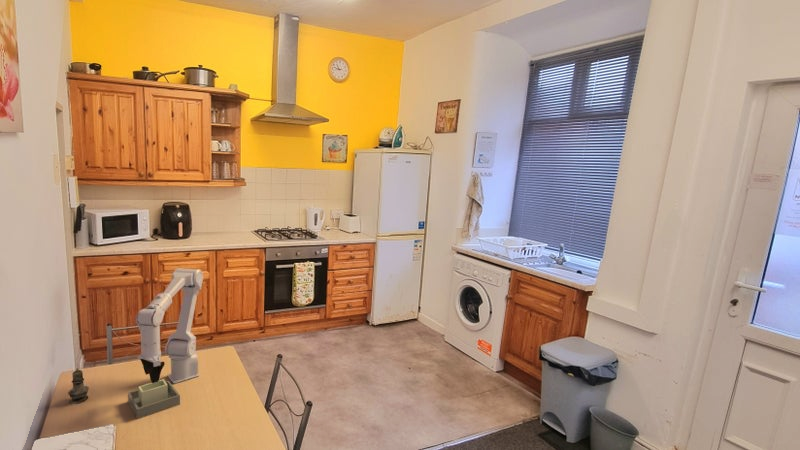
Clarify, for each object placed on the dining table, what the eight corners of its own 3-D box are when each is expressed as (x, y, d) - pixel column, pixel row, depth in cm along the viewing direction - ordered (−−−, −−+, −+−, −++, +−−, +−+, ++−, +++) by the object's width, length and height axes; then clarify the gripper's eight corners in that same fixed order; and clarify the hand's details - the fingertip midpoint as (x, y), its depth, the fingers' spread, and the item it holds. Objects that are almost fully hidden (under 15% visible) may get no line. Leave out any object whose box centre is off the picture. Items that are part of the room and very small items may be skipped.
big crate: (168, 389, 154) (168, 380, 153) (180, 404, 145) (179, 395, 144) (128, 401, 145) (127, 392, 144) (137, 419, 135) (136, 409, 135)
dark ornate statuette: (77, 405, 141) (75, 373, 139) (64, 402, 142) (62, 371, 141) (93, 396, 147) (91, 365, 145) (80, 394, 148) (78, 363, 146)
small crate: (164, 394, 149) (163, 379, 148) (168, 400, 146) (167, 384, 145) (138, 402, 143) (138, 386, 143) (142, 408, 140) (141, 392, 139)
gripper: (132, 337, 144) (133, 373, 146) (143, 352, 134) (144, 390, 136) (154, 332, 149) (155, 367, 151) (166, 346, 139) (167, 382, 141)
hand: (152, 377), depth 144 cm, fingers open, 7 cm apart
